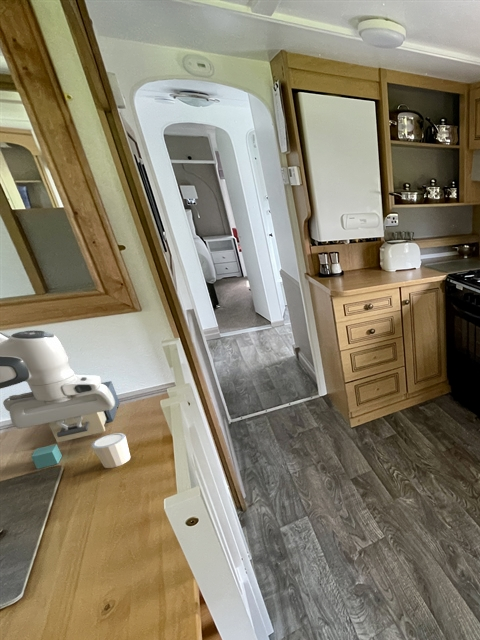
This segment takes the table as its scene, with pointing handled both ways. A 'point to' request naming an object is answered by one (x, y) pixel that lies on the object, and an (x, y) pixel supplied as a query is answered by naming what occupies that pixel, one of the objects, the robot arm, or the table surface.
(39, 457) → the teal cube
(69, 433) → the drawer
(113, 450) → the white faceted cup
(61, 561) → the table surface
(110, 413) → the blue drawer cabinet
